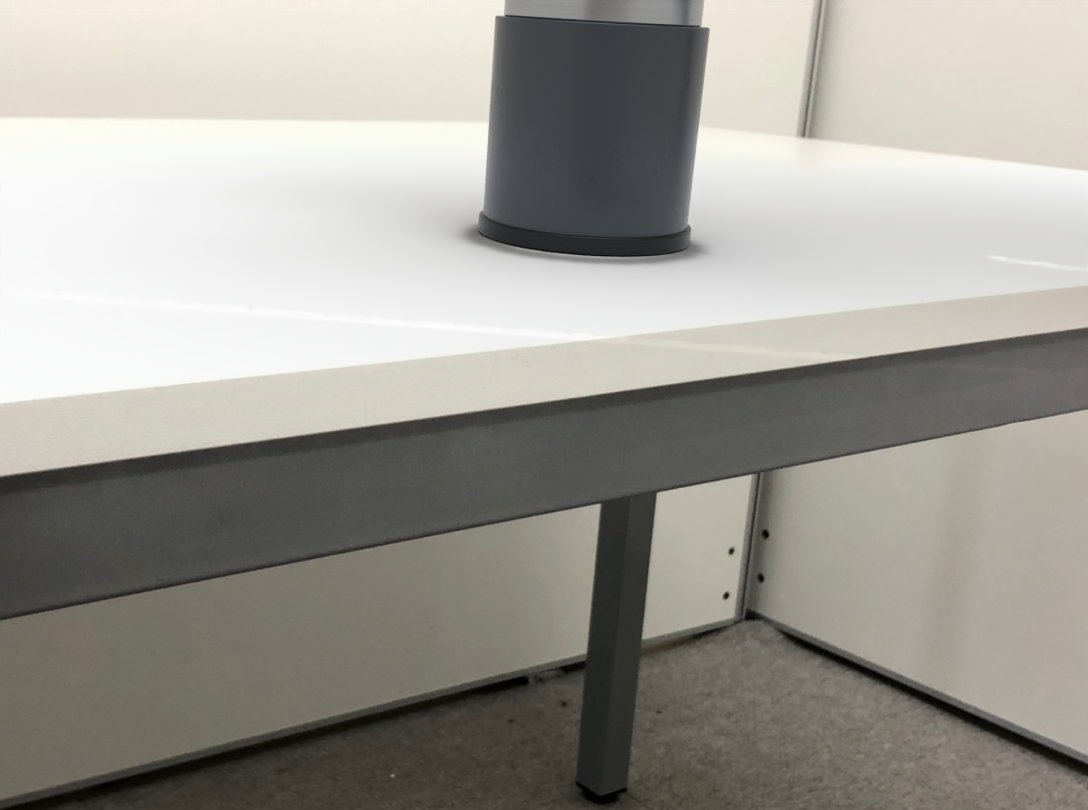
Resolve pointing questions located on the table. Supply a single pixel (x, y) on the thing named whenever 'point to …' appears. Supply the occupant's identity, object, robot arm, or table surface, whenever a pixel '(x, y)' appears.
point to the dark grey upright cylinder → (594, 125)
